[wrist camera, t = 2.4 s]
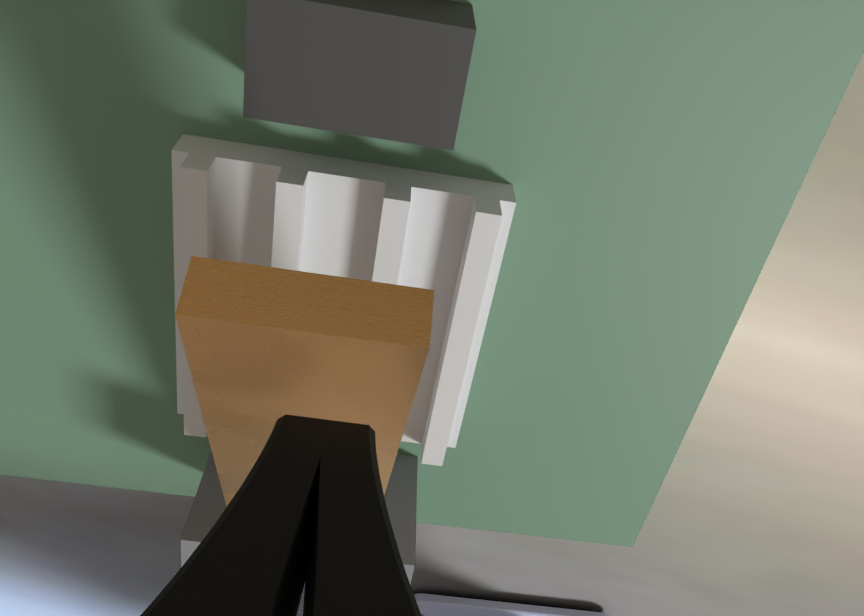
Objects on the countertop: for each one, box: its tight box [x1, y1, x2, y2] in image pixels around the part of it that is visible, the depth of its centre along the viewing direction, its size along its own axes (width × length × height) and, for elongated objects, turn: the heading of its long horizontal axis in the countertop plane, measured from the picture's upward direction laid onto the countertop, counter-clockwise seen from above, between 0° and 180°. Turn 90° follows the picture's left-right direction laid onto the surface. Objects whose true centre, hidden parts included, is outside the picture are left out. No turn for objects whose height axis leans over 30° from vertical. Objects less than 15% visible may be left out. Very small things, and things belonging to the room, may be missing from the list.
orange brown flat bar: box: [175, 256, 434, 506], centre depth 17 cm, size 14×4×1 cm, turn 170°
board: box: [0, 0, 864, 585], centre depth 19 cm, size 18×22×5 cm
